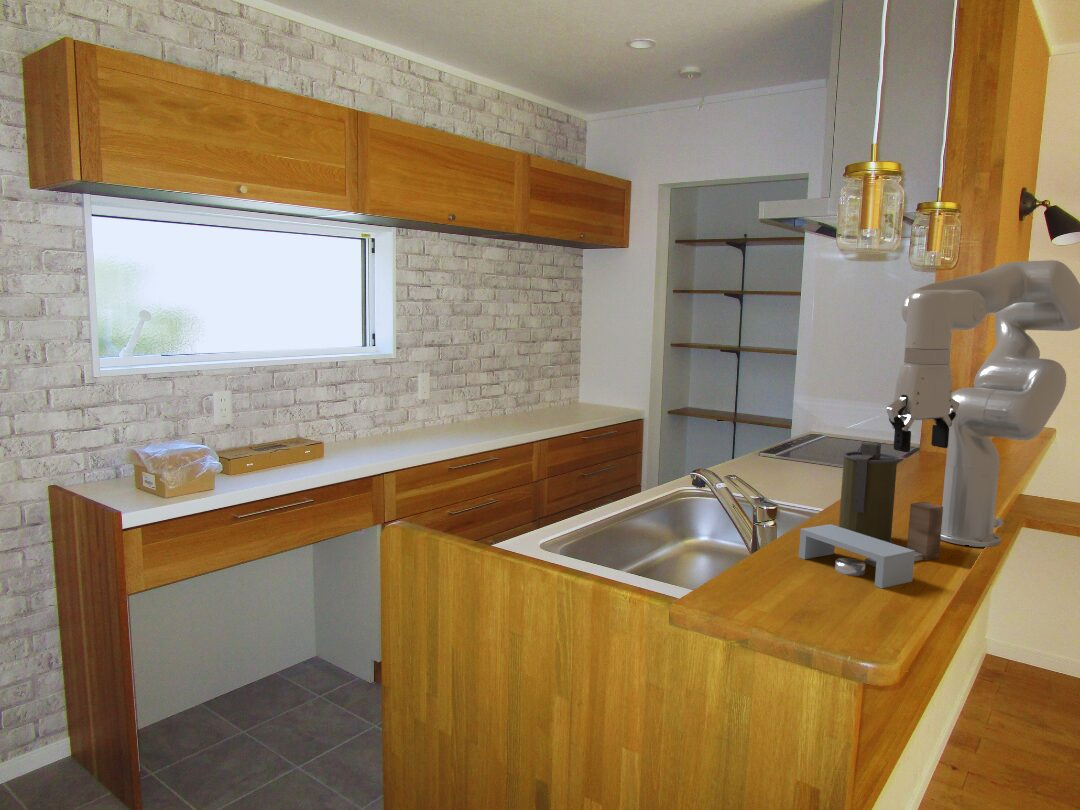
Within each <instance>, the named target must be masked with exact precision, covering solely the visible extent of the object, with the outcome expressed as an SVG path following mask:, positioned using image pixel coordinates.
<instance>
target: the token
mask: <svg viewBox="0 0 1080 810" xmlns="http://www.w3.org/2000/svg"><path fill="white" fill-rule="evenodd" d="M834 563H835V564H834V570H835V572H837V573H839V574H842V575H846V576H853V577H857V576H859V577H860V576H861V577H862V576H863V575H865V574H866V564H865V562H863V561H862V560H859V559H855V558H850V557H846V558H845V557H839V558H836V559H835V561H834Z"/></svg>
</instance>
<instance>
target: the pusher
mask: <svg viewBox="0 0 1080 810" xmlns="http://www.w3.org/2000/svg"><path fill="white" fill-rule="evenodd" d="M909 507H910V508H909V509H910V510H909V517H908V518H909V520H908V532H907V542H906V543H907V546H906V548H908V549H911V550H914V551H915V556H914V562H918V561H929V560H932V559H939V557H940V549H941V548H940V547H941V546H940V545H941V539H940V538H941V527H942V515H943V506H942V505H939V504H936V503H935V504H934V503H930V502H926V501H919V502H914V503H910V506H909ZM876 561H877V560H875V559H872V558H869V557H866V558H865V562H864V563H865V565H867V566H871V567H873V568H876Z"/></svg>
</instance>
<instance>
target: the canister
mask: <svg viewBox="0 0 1080 810" xmlns="http://www.w3.org/2000/svg"><path fill="white" fill-rule="evenodd" d="M881 449H882V444H881V443H880V442H877V441H866V442H865V441H864V442H861V445H860V447H859V448H858V449H857V451H847V452H844V453H843V454H842V456H843V463H842V477H841V478H842V480H841V491H840V503H839V505H840V506H839V519H838V527H841V528H844V529H847V530H851V531H854V532H857V533H860V534H863V535H867V536H870V537H873V538H876V539H879V540H882V541H886V542H889V543H892V542H893V539H892V534H893V531H892V530H893V519H894V518H893V516H894V508H895V507H894V506H895V505H894V504H895V493H896V492H895V491H896V480H897V479H896V478H897V469H898V468H897V466H898V462H899V458H898V457H897V456H895V455H892V454H887V453H881Z"/></svg>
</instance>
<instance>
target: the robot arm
mask: <svg viewBox="0 0 1080 810" xmlns="http://www.w3.org/2000/svg"><path fill="white" fill-rule="evenodd" d="M993 314H994V318H993V319H994V334H995V346H994V347H993V349H992V351H991V352H990V354H989V355H988V356H987V358H986V359H985V360H984V362H983V363H982V365H980V367H979V369H978V371H977V373H976V374H975V376H974V381H973V386H974V387H970V386H969V387H962V388H958V389H955V391H952V386H953V385H952V371H951V365H950V360H951V346H952V333H953V330H954V331H958V330H959V331H966V330H967V331H968V330H971V329H974V328H976V327H978V326H979V325H981V324H982V323H983V322H984V320H985V318H986V316H988V315H993ZM901 316H902V319H903V321H904V323H905V324H906V325H905V326H906V327H905V342H904V343H905V344H904V345H905V346H904V358H903V359H904V360H903V361H904V362H903V364H902V365H900V367H899V368H900V369H899V372H898V375H897V379H896V380H897V381H896V385H895V391H894V400H893V402H892V403H891V404H889V405H888V406H887V407H886V413H887V416H888V420H889V423H890V424H891V428H892V429H893V430H894V436H893V450H895V451H898V452H902V453H910V451H911V440H912V430H909V429H910V428H911V427H912V425H913V424H914V422H915V421H923V420H926V421H927V420H933V421H934V424H932V431H931V445H932V446H933V447H937V448H940V449H941V448H942V449H946V457H945V458H946V459H945V469H944V470H945V471H944V482H943V490H942V491H943V493H942V505H941V506H943V515H942V527H941V538H940V541H943V542H948V543H950V544H951V543H952V544H956V545H960V546H965V545H969V546H968V547H974V548H976V547H977V548H992V547H997V546H999V545H1001V543H1002V539H1001V537H1000V535H998V534H996V533H994V529H995V528H998V527H1002V526H1003V524H1004V520H1003V519H1002V517H995V513H996V501H997V494H998V493H997V492H998V491H997V490H998V482H999V470H1000V453H999V451H998V449H997V447H996V446H995V444H994V443H993V441H992V439H991V437H992V438H993V437H994V438H999V439H1009V440H1017V441H1029V440H1032V439H1035V438H1036V437H1038V436H1039V435H1040V434H1041V433H1042V431H1043V429H1044V428H1045V426H1046V425H1047V423H1048V422H1049V420H1050V418H1051V417H1052V416H1053V414H1054V412H1055V410H1056V409H1057V407H1058V406H1059V404H1060V402H1061V400H1062V398H1063V397H1064V395H1065V391H1066V386H1067V374H1066V373H1067V372H1066V370H1065V368H1064V367H1063V365H1062V364H1061V363H1059V362H1058V361H1056V360H1054V359H1049V358H1048V359H1047V358H1040V356H1041V351H1040V348H1039V347H1038V345H1037V343H1036V342H1035V341H1034V339H1033V338H1032V337H1031V336H1030V335H1029V334H1028V333H1027V332H1026V331H1049V332H1050V331H1055V332H1057V331H1058V332H1070V331H1075V330H1078V329H1080V282H1079V280H1078V278H1077V277H1076V275H1075V274H1074V272H1073V270H1071V269H1070V268H1069V267H1068V266H1067V265H1066V264H1065V263H1063V262H1061V261H1059V260H1054V259H1053V260H1052V259H1051V260H1050V259H1049V260H1023V261H1010V262H1005V263H1002V264H999V265H997V266H995V267H992V268H990V269H987V270H985V271H982V272H979V273H976V274H975V273H974V274H971V275H965V276H961V277H957V278H953V279H946V280H943V281H938V282H933V283H929V284H925V285H923V286H920V287H917V288H916V289H914V290H912V291H911V292H909V294H907V295H906V297H905V299H904V300H903V302H902V307H901Z"/></svg>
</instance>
